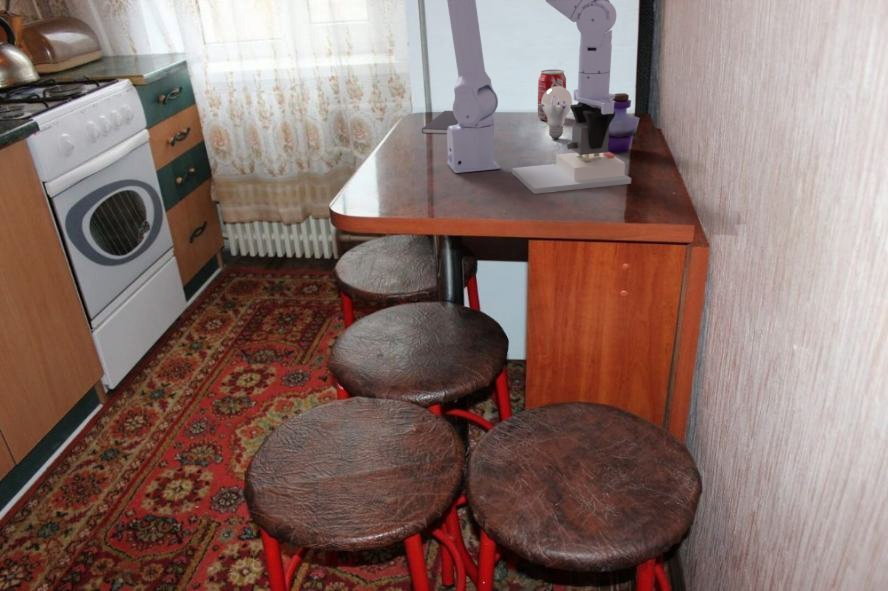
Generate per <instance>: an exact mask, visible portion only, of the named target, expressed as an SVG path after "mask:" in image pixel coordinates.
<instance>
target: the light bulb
mask: <svg viewBox="0 0 888 591" xmlns="http://www.w3.org/2000/svg"><path fill="white" fill-rule="evenodd" d="M541 104H542V109H543V111H544V113H545V115H546V117H547V120H548V121H547V125H548V135H549V136H550V138H552V139H553V140H559V139H560V138H561V137H562V136H563V134H564V132H563V131H564V125H565V121H566V117H567V116H568V114H569V113H570V111H571V108H570V106H571V105H573V98H572V95H571V93H570V91H569V90H568V89H567V88H566V89H565V88H564V87H561V86H554V87H551V88H549V89H548V90H547V91H546V92H545V93H544V95H543V97H542V101H541Z"/></svg>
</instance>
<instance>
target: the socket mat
mask: <svg viewBox="0 0 888 591" xmlns="http://www.w3.org/2000/svg"><path fill="white" fill-rule="evenodd" d="M511 173H512V174H513V176H514V177H516V179H518V180H519V181H520V182H521V183H522V184H523V185H524V186H525V187H527V189H528V190H529V191H531V193H533V195H535V194H544V193H545V194H546V193H553V192H554V193H555V192H564V191H572V190H574V191H575V190H583V189H593V188H602V187H603V188H604V187H610V186H611V187H612V186H621V185H629V184H630V185H631V184H632V177H630V176H628V175H627V174H625V173H624V176H618V177H608V178H598V179H588V180H579V181H574V180H572V179H571V178H570V177H568V176H567V175H566V174H565V173H563V172H562V171H561V170H559V169H558V168H557V167H556V163H551V164H541V165H532V166H530V165H529V166H522V167H511Z"/></svg>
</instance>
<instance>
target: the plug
mask: <svg viewBox="0 0 888 591" xmlns="http://www.w3.org/2000/svg"><path fill="white" fill-rule="evenodd" d="M571 131H572V135H571V142H567V144H566V149H567V150H572V151H573V152H574V153H578V155H579V156H582V155H585V160H589V154H594V157H597V156H600V153H606V152H608V139H609V127H608V129H607V132H606V135H605V138H604V142H603V145H602V148H597V149H591V148H590V145H589V134H588V126H587V122H583V123H576V122H574V123H572V130H571Z"/></svg>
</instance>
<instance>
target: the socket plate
mask: <svg viewBox="0 0 888 591" xmlns="http://www.w3.org/2000/svg"><path fill="white" fill-rule="evenodd" d="M555 157H556V158H555V164H556V167H557V168H558V169H559V170H561V171H562V172H563V173H565V174H566V175H567V176H568V177H570V178H571V179H572V180H574V181H579V180H588V179H598V178H608V177H618V176H624V174H625V171H626V170H625V169H626V168H625V167H626V162H624V161H623V160H621V159H619V158H618V157H616V156H615V153H610V152H606V153H600V156H597V157H594V154H589V160H585V155H582V156H579V155H578V153H577V152H569V153H568V152H567V153H560V154H559V153H558V154H555Z"/></svg>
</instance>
